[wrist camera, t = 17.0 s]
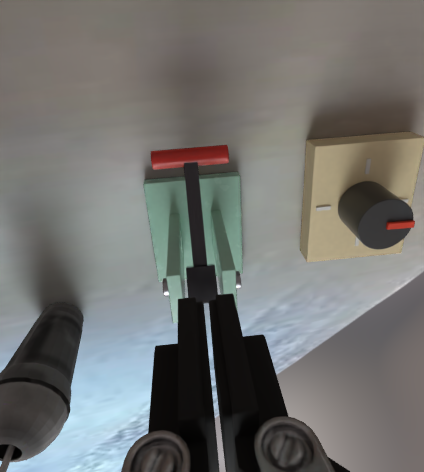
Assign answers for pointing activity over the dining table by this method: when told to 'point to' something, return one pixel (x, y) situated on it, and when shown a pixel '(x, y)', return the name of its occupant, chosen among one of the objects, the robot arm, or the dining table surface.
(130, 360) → the dining table surface
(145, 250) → the dining table surface
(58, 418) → the beverage cup
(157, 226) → the bracket
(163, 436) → the robot arm
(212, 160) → the lever
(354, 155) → the panel
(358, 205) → the knob
